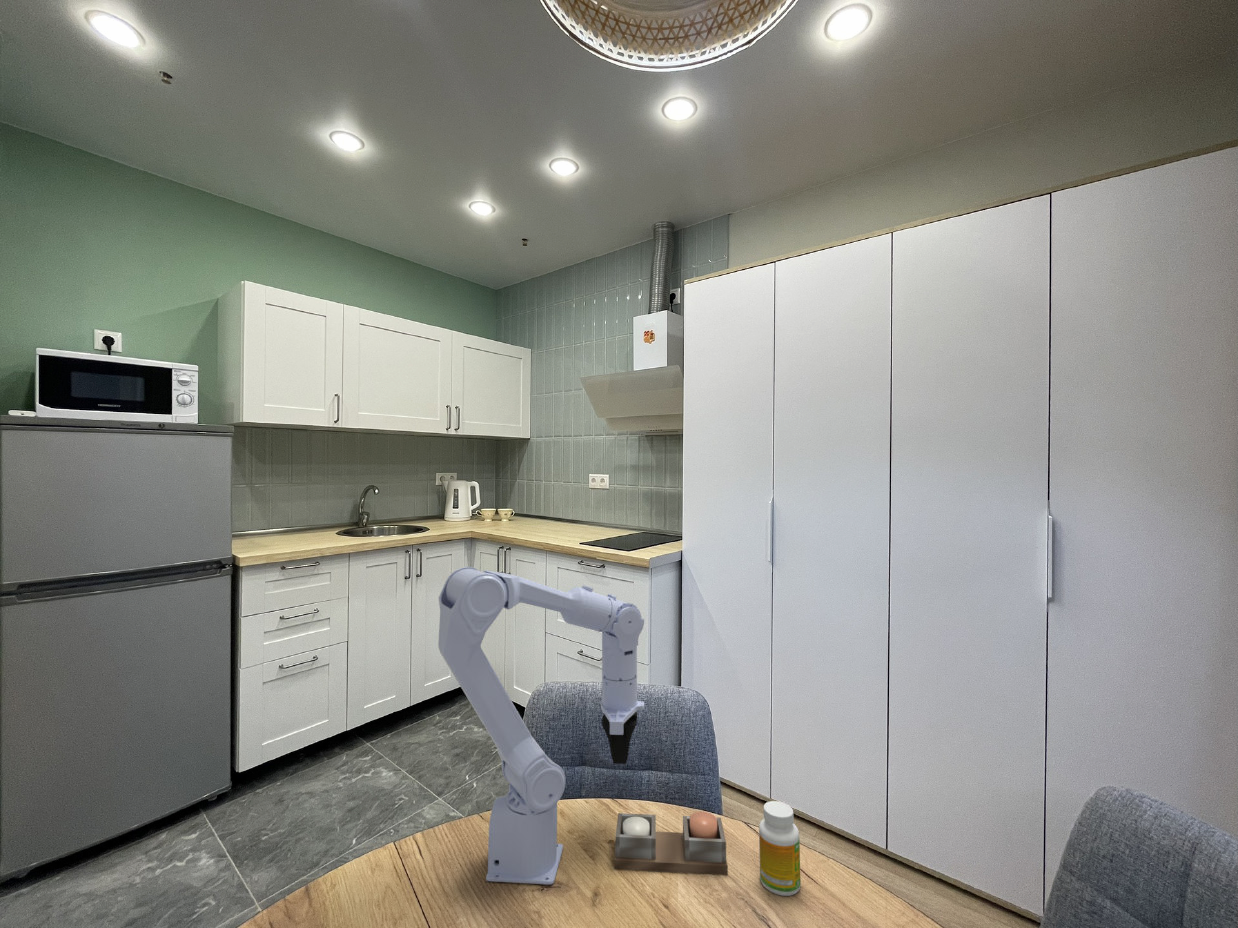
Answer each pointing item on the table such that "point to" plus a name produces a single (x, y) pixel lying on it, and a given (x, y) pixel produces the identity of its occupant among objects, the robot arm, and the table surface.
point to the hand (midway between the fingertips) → (619, 761)
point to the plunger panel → (669, 849)
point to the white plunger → (636, 826)
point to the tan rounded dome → (703, 825)
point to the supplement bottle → (779, 850)
